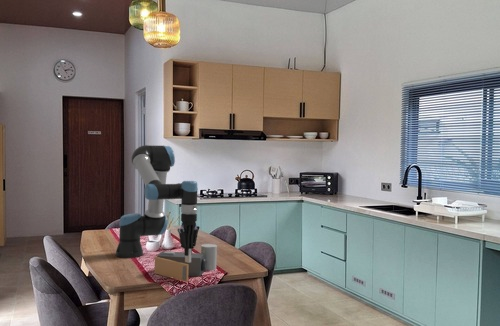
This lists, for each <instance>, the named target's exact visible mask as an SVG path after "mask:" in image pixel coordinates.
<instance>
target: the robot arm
mask: <svg viewBox="0 0 500 326" xmlns="http://www.w3.org/2000/svg"><path fill="white" fill-rule="evenodd" d="M175 159H176V158H175V152H174V149H173V148H172V147H171V146H169V145H148V144H146V145H145V144H144V145H141V146H139V147H137V148H136V149H134V151H133V153H132V155H131V160H130V161H131V164H132V166H133V168H134V169H135V170H137V172H138V174H139V176H140V178H141V179H142V182H143V184H144V185H145V186H144V189H143V191H144V192H143V193H144V198H145V199H146V200H148V203H147V204H148V205H147V210H145V211H144V215H141V213H128V214H123V215H122V216H121V217H120V218H119V224H118V225H119V232H118V233H119V235H118V236H119V237H118V238H119V240H118V241H119V242H118V245H117V248H116V249H115V256H116V257H118V258H124V259H126V258H127V259H131V258H133V259H134V258H140V257H143V256H144V250H143V246H142V243H141V237H146V236H147V237H149V236H160V235H163V234H165V233H166V231H167V228H168V217H167V215H166V213H165V212H164V211H163V210H164V202H165V200H180V203H181V205H180V207H181V208H180V209H181V210H180V211H181V215H180V221H181V227H179V228H177V232H178V235H179V242H180V246H181V247H180V248H183V249H184V251H183V253H184V255H185V262H188V263H190V262H191V255H192V253H193V249H195V247H196V245H197V240H198V239H197V238H198V232H199V231H200V226H199V225H197V223H196V222H197V221H198V214H197V212H198V182H197V181H195V180H183V181H182V182H181V183H179V182H178V183H167V176H168V175H167V173H169V172H170V170H171V167H174V166H175V162H176V160H175Z"/></svg>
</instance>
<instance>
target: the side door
mask: <svg viewBox="0 0 500 326" xmlns="http://www.w3.org/2000/svg"><path fill="white" fill-rule="evenodd" d="M188 269H189V264H185V263H180V262H176V261H172V260H167V259H163V258H159V257H157V256H154V274H157V275H159V276H164V277H167V278H171V279H175V280H179V281H181V282H182V281H183V282H186V283H187V282H188V283H189V276H188Z"/></svg>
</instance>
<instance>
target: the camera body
mask: <svg viewBox="0 0 500 326" xmlns="http://www.w3.org/2000/svg"><path fill="white" fill-rule="evenodd" d="M156 257H159V258H163V259H167V260H172V261H176V262H180V263H185V264H189V269H188V277H201V276H202V275H203V273H204V272H206V271H207V270H206V265H207V261H206V259H205V254H202V253H201V252H200V253H199V252H198V253H197V252H192V255H191V262H190V263H188V262H185V255H184V251H183V252H181V251H165V250H164V251H161V252H160V253H158V254H157V255H156Z"/></svg>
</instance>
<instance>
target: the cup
mask: <svg viewBox="0 0 500 326" xmlns="http://www.w3.org/2000/svg"><path fill="white" fill-rule="evenodd" d="M217 251H218V245H217V244H215V243H203V244H201V246H200V253H202V254H205V259H206V261H207V265H206V270H205V271H215V270H216V269H217V256H218V252H217Z"/></svg>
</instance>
